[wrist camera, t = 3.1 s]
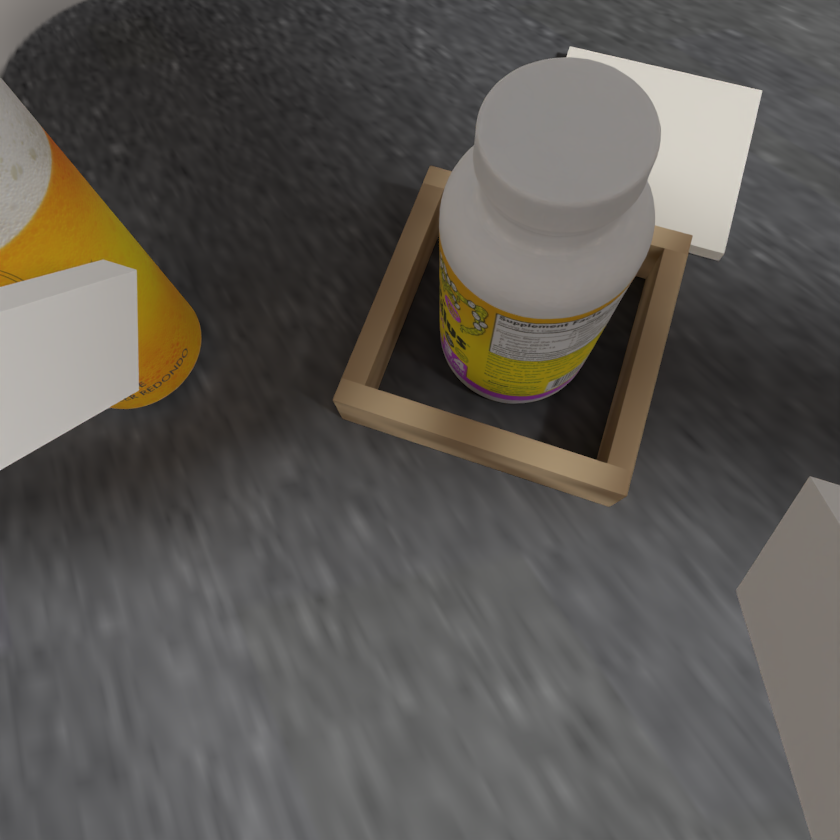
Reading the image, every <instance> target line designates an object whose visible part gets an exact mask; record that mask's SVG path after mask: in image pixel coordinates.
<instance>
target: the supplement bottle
mask: <svg viewBox="0 0 840 840" xmlns="http://www.w3.org/2000/svg"><path fill="white" fill-rule="evenodd" d="M660 141H661V126H660V122H659V117H658V114H657V111H656V109H655V107H654V105H653V103H652V101H651V99H650V98H649V96H648V95H647V93H646V92H645V91H644V90H643V89H642V88H641V87H640V86H639V85H638V84H637V83H636V82H635V81H634V80H633V79H631V78H630V77H629V76H627V75H626V74H624V73H622V72H621V71H619V70H617V69H616V68H614V67H612V66H609V65H606V64H603V63H601V62H597V61H593V60H590V59H583V58H575V57H562V58H551V59H545V60H541V61H537V62H534V63H530V64H527V65H524V66H522V67H520V68H518V69H516V70H514V71H513V72H511V73H509V74H508V75H506V76H505V77H504V78H503V79H501V80H500V81H499V82H498V83H497V84H496V85H495V86H494V87H493V88H492V89H491V91H490V92H489V93H488V95H487V96H486V98H485V100H484V101H483V103H482V106H481V108H480V111H479V114H478V118H477V123H476V133H475V143H474V146H473V147H471V148H470V149H469V150H468V151H467V152H466V153H465V154H464V156H463V157H462V158H461V159H460V161H459V162H458V163H457V165H456V166H455V168H454V169H453V171H452V172H451V174H450V176H449V178H448V181H447V183H446V186H445V188H444V191H443V195H442V199H441V205H440V215H439V256H440V259H439V261H440V268H439V284H440V289H439V297H440V302H439V306H440V337H441V345H442V349H443V353H444V356H445V358H446V361H447V363H448V365H449V366H450V368H451V370H452V371H453V372H454V374H455V375H456V376H457V378H458V379H459V380H460V381H461V382H462V383H463V384H465V385H466V386H467V387H468V388H470V389H471V390H472V391H474V392H475V393H477V394H479V395H481V396H483V397H485V398H488V399H491V400H494V401H498V402H502V403H511V404H517V403H528V402H534V401H538V400H541V399H544V398H546V397H549V396H551V395H553V394H555V393H556V392H558V391H560V390H561V389H562V388H564V387H565V386H566V385H567V384H568V383H569V382H570V381H571V380H572V379H573V378H574V377H575V376H576V374H577V373H578V371H579V370H580V369H581V367H582V366H583V364H584V362H585V361H586V359H587V357H588V355H589V354H590V352H591V351H592V349H593V347H594V346H595V344H596V342H597V340H598V338H599V337H600V335H601V333H602V332H603V330H604V328H605V326H606V325H607V323H608V321H609V319H610V318H611V316H612V314H613V312H614V311H615V309H616V307H617V306H618V304H619V302H620V300H621V299H622V297H623V295H624V294H625V292H626V291H627V289H628V287H629V286H630V284H631V282H632V281H633V279H634V278H635V276H636V274H637V272H638V270H639V269H640V267H641V265H642V263H643V262H644V260H645V258H646V256H647V253H648V251H649V248H650V245H651V242H652V238H653V233H654V227H655V207H654V199H653V195H652V191H651V187H650V185H649V183H648V177H649V175H650V172H651V170H652V168H653V165H654V163H655V160H656V158H657V155H658V152H659V148H660Z"/></svg>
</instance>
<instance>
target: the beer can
mask: <svg viewBox="0 0 840 840" xmlns="http://www.w3.org/2000/svg"><path fill="white" fill-rule="evenodd" d="M100 260H106V261H110V262H113V263H116V264H119V265H123V266H126V267H129V268H132V269H136V270H137V313H138V368H139V391H137V392H135V393H133V394H132V395H130V396H128V397H127V398H125V399H123V400H121V401H120V402H118V403H116V404H114V405H113V406H111V407H109V408H115V409H133V408H139V407H143V406H147V405H150V404H152V403H155V402H157V401H159V400H161V399H163V398H164V397H166V396H168V395H169V394H170V393H172V392H173V391H174V390H175V389H177V388H178V387H179V386H180V385H181V384H182V383H183V382H184V381H185V379H186V378H187V377H188V375H189V374H190V373H191V371H192V369H193V368H194V366H195V363H196V361H197V359H198V356H199V353H200V348H201V328H200V323H199V320H198V318H197V315H196V313H195V312H194V310H193V308H192V307H191V306H190V305H189V303H188V302H187V301H186V300H185V299H184V297H183V296H182V295H181V294H180V293H179V291H178V290H177V289H176V288H175V286H174V285H173V284H172V283H171V282H170V280H169V279H168V278H167V277H166V276H165V274H164V273H163V272H162V271H161V270H160V268H159V267H158V266H157V265H156V264H155V262H154V261H153V260H152V259H151V258H150V256H149V255H148V254H147V253H146V252H145V250H144V249H143V248H142V247H141V246H140V244H139V243H138V242H137V241H136V240H135V238H134V237H133V236H132V235H131V234H130V232H129V231H128V230H127V229H126V228H125V226H124V225H123V224H122V223H121V222H120V220H119V219H118V218H117V217H116V216H115V214H114V213H113V212H112V211H111V210H110V208H109V207H108V206H107V205H106V204H105V202H104V201H103V200H102V199H101V198H100V196H99V195H98V194H97V193H96V192H95V190H94V189H93V188H92V187H91V185H90V184H89V183H88V182H87V181H86V179H85V178H84V177H83V176H82V175H81V173H80V172H79V171H78V170H77V169H76V167H75V166H74V165H73V164H72V163H71V161H70V160H69V159H68V158H67V157H66V155H65V154H64V153H63V152H62V151H61V149H60V148H59V147H58V146H57V145H56V143H55V142H54V141H53V140H52V139H51V137H50V136H49V135H48V134H47V133H46V131H45V130H44V129H43V128H42V127H41V125H40V124H39V123H38V122H37V121H36V119H35V118H34V117H33V116H32V115H31V113H30V112H29V111H28V110H27V109H26V107H25V106H24V105H23V104H22V103H21V101H20V100H19V99H18V98H17V97H16V95H15V94H14V93H13V92H12V90H11V89H10V88H9V87H8V86H7V84H6V83H5V82H4V81H3V80H2V78H1V77H0V287H2V286H6V285H10V284H14V283H17V282H21V281H25V280H29V279H32V278H36V277H40V276H43V275H47V274H51V273H55V272H58V271H62V270H66V269H70V268H73V267H77V266H81V265H85V264H88V263H92V262H96V261H100Z"/></svg>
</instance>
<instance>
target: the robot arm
mask: <svg viewBox="0 0 840 840" xmlns="http://www.w3.org/2000/svg"><path fill="white" fill-rule="evenodd" d="M137 391H139V368H138V313H137V270H136V269H132V268H129V267H126V266H123V265H119V264H116V263H113V262H110V261H106V260H100V261H96V262H92V263H88V264H85V265H81V266H77V267H73V268H70V269H66V270H62V271H58V272H55V273H51V274H47V275H43V276H40V277H36V278H32V279H29V280H25V281H21V282H17V283H14V284H10V285H6V286H2V287H0V470H1V469H3V468H5V467H7V466H8V465H10V464H12V463H14V462H15V461H17V460H19V459H21V458H22V457H24V456H26V455H27V454H29V453H31V452H33V451H34V450H36V449H38V448H40V447H41V446H43V445H45V444H47V443H48V442H50V441H52V440H54V439H55V438H57V437H59V436H61V435H62V434H64V433H66V432H67V431H69V430H71V429H73V428H74V427H76V426H78V425H80V424H81V423H83V422H85V421H87V420H88V419H90V418H92V417H94V416H95V415H97V414H99V413H100V412H102V411H104V410H106V409H107V408H109V407H111V406H113V405H114V404H116V403H118V402H120V401H121V400H123V399H125V398H127V397H128V396H130V395H132V394H133V393H135V392H137ZM736 593H737V596H738V599H739V603H740V606H741V609H742V613H743V616H744V619H745V622H746V626H747V629H748V632H749V635H750V639H751V642H752V645H753V649H754V652H755V655H756V658H757V662H758V665H759V668H760V671H761V675H762V678H763V681H764V685H765V688H766V691H767V694H768V698H769V701H770V704H771V708H772V711H773V714H774V717H775V721H776V724H777V727H778V730H779V734H780V737H781V740H782V744H783V747H784V750H785V753H786V757H787V760H788V763H789V766H790V770H791V773H792V776H793V780H794V783H795V786H796V789H797V793H798V796H799V799H800V802H801V806H802V809H803V812H804V816H805V819H806V822H807V825H808V829H809V832H810V835H811V838H812V840H840V485H837V484H834V483H831V482H828V481H824V480H821V479H818V478H814V477H811V476H809V478H808V479H807V481H806V483H805V484H804V486H803V487H802V489H801V490H800V492H799V493H798V495H797V497H796V498H795V500H794V501H793V503H792V504H791V506H790V507H789V509H788V510H787V512H786V514H785V515H784V517H783V518H782V520H781V521H780V523H779V524H778V526H777V528H776V529H775V531H774V532H773V534H772V535H771V537H770V538H769V540H768V542H767V543H766V545H765V546H764V548H763V549H762V551H761V552H760V554H759V555H758V557H757V559H756V560H755V562H754V563H753V565H752V566H751V568H750V569H749V571H748V573H747V574H746V576H745V577H744V579H743V580H742V582H741V583H740V585H739V587H738V588H737V590H736Z"/></svg>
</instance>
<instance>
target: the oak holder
mask: <svg viewBox="0 0 840 840" xmlns="http://www.w3.org/2000/svg"><path fill="white" fill-rule="evenodd" d="M451 172H452V171H449V170H445V169H441V168H437V167H434V166H430V167H429V169H428V172H427V174H426V177H425V179H424V181H423V184H422V186H421V189H420V191H419V193H418V196H417V198H416V201H415V203H414V205H413V208H412V210H411V213H410V215H409V217H408V220H407V222H406V225H405V227H404V229H403V232H402V234H401V237H400V239H399V241H398V244H397V246H396V249H395V251H394V253H393V256H392V258H391V261H390V263H389V266H388V268H387V270H386V273H385V275H384V278H383V280H382V282H381V285H380V287H379V290H378V292H377V294H376V297H375V299H374V302H373V304H372V306H371V309H370V311H369V314H368V316H367V318H366V321H365V323H364V326H363V328H362V330H361V333H360V335H359V338H358V340H357V342H356V345H355V347H354V350H353V352H352V355H351V357H350V359H349V362H348V364H347V367H346V369H345V371H344V374H343V376H342V379H341V381H340V383H339V386H338V388H337V391H336V393H335V395H334V398H333V402H334V404H335V405H336V407H337V409H338V411H339V413H340V415H341V417H342V419H345V420H348V421H351V422H354V423H357V424H360V425H363V426H366V427H369V428H372V429H375V430H378V431H381V432H384V433H387V434H390V435H393V436H396V437H399V438H402V439H405V440H408V441H411V442H414V443H417V444H420V445H423V446H426V447H429V448H433V449H436V450H439V451H442V452H445V453H448V454H451V455H454V456H457V457H460V458H463V459H466V460H469V461H472V462H475V463H478V464H481V465H484V466H487V467H490V468H493V469H496V470H499V471H502V472H505V473H508V474H511V475H514V476H517V477H520V478H523V479H526V480H529V481H532V482H535V483H538V484H541V485H544V486H547V487H550V488H553V489H556V490H559V491H562V492H565V493H568V494H571V495H574V496H577V497H581V498H584V499H587V500H590V501H593V502H596V503H599V504H602V505H605V506H608V507H610V506H612V505H613V504H615V503H616V502H618V501H620V500H621V499H623V498H625V497H626V496H627V494H628V490H629V486H630V482H631V478H632V474H633V470H634V466H635V462H636V458H637V454H638V450H639V446H640V442H641V438H642V434H643V430H644V426H645V422H646V419H647V415H648V411H649V407H650V403H651V399H652V395H653V391H654V387H655V383H656V379H657V375H658V371H659V367H660V363H661V359H662V355H663V351H664V347H665V343H666V340H667V336H668V332H669V328H670V324H671V320H672V316H673V312H674V308H675V304H676V300H677V296H678V292H679V288H680V284H681V280H682V276H683V272H684V268H685V264H686V261H687V257H688V253H689V249H690V245H691V241H692V237H693V235H690V234H686V233H682V232H678V231H675V230H671V229H667V228H663V227H659V226H656V225H655V227H654V233H653V238H652V242H651V245H650V248H649V251H648V253H647V256H646V258H645V260H644V262H643V263H642V265H641V267H640V269H639V270H638V272H637V274H636V276H637V277H641V278H644V279H646V280H645V283H644V287H643V291H642V294H641V298H640V302H639V305H638V309H637V313H636V316H635V320H634V324H633V327H632V331H631V335H630V338H629V342H628V346H627V349H626V353H625V357H624V360H623V364H622V368H621V371H620V375H619V379H618V382H617V386H616V390H615V393H614V397H613V401H612V404H611V408H610V412H609V415H608V419H607V423H606V426H605V430H604V434H603V437H602V441H601V445H600V448H599V452H598V456H597V459H596V460H595V459H592V458H589V457H586V456H583V455H580V454H577V453H574V452H570V451H567V450H564V449H561V448H558V447H555V446H552V445H549V444H546V443H542V442H539V441H536V440H533V439H530V438H527V437H524V436H521V435H518V434H514V433H511V432H508V431H505V430H502V429H499V428H496V427H493V426H490V425H486V424H483V423H480V422H477V421H474V420H471V419H468V418H465V417H462V416H458V415H455V414H452V413H449V412H446V411H443V410H440V409H437V408H434V407H430V406H427V405H424V404H421V403H418V402H415V401H412V400H409V399H406V398H402V397H399V396H396V395H393V394H390V393H387V392H384V391H381V390H378V388H379V385H380V382H381V380H382V377H383V375H384V372H385V370H386V367H387V365H388V362H389V360H390V357H391V355H392V352H393V350H394V347H395V344H396V342H397V339H398V337H399V334H400V332H401V329H402V327H403V324H404V322H405V319H406V317H407V314H408V312H409V309H410V306H411V304H412V301H413V299H414V296H415V294H416V291H417V289H418V286H419V284H420V281H421V279H422V276H423V274H424V271H425V268H426V266H427V263H428V261H429V258H430V256H431V253H432V251H433V248H434V246H435V243H436V241H437V238H438V236H439V215H440V205H441V199H442V195H443V191H444V188H445V186H446V183H447V181H448V178H449V176H450V174H451Z"/></svg>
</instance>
